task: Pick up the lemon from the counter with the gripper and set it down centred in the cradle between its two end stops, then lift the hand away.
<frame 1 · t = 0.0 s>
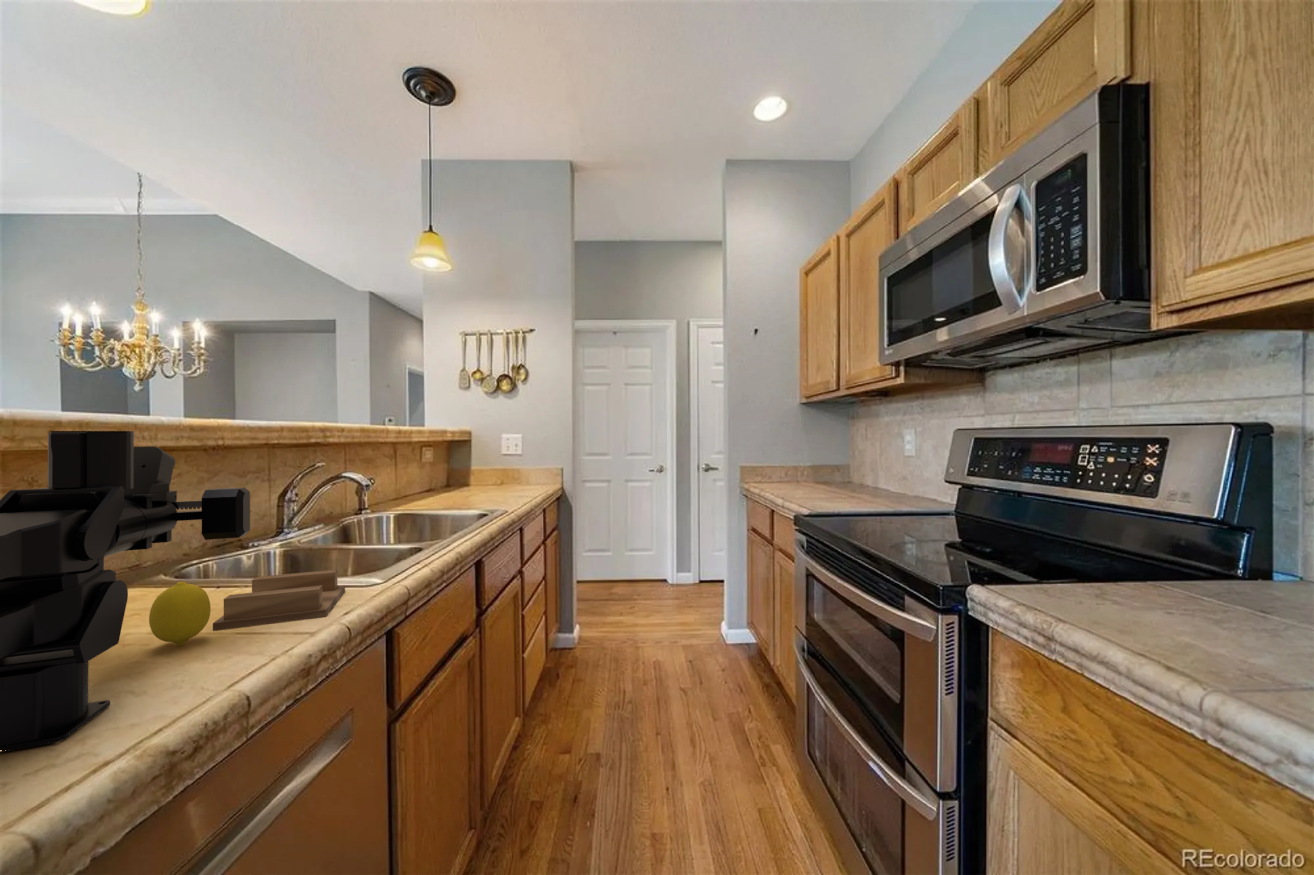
hand: (186, 508, 66), 17 cm above the countertop, tool horizontal, fingers open, 9 cm apart
cradle: (286, 608, 74), on the countertop
lemon: (181, 646, 61), on the countertop
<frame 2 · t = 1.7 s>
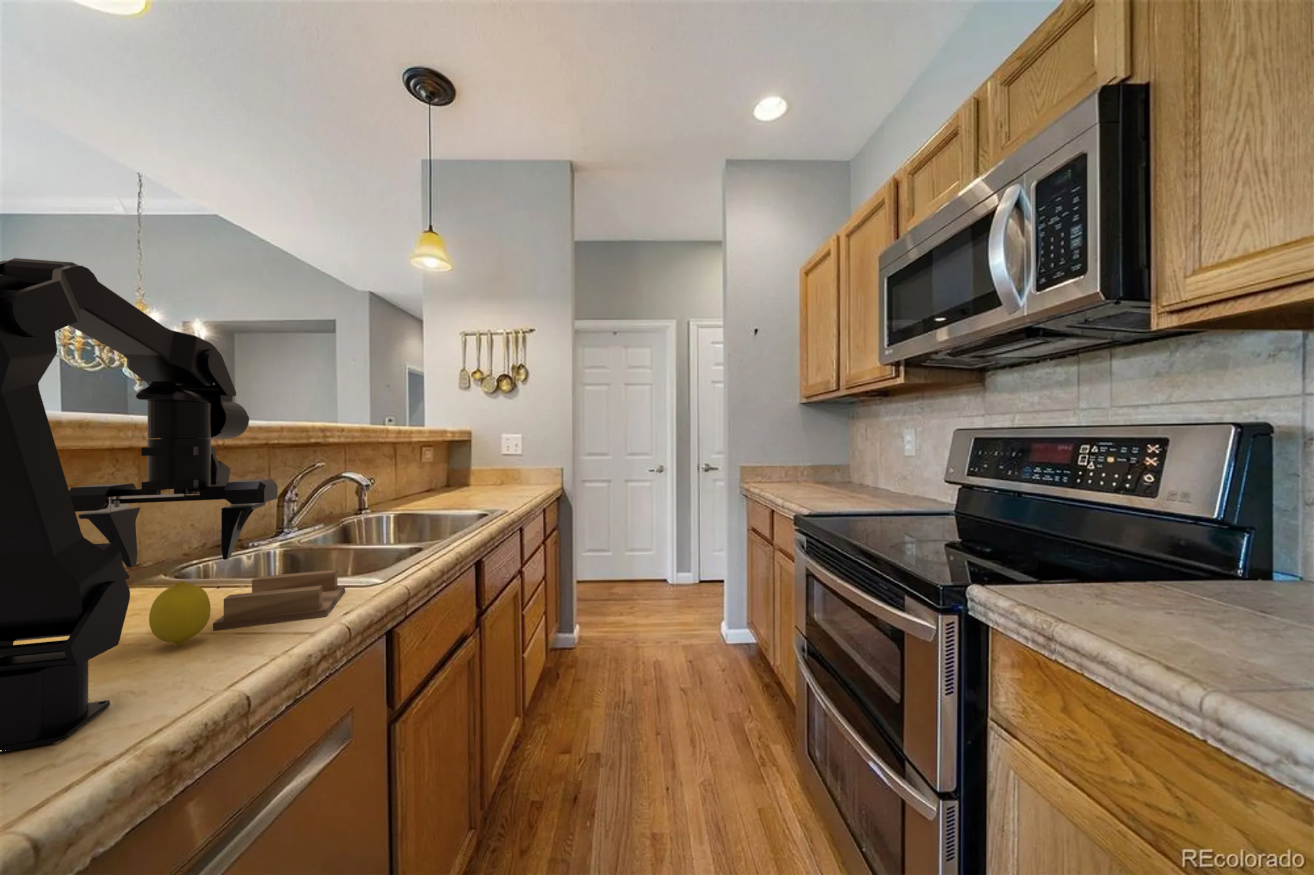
hand: (180, 562, 61), 10 cm above the countertop, tool pointing down, fingers open, 9 cm apart
nothing on the countertop moved.
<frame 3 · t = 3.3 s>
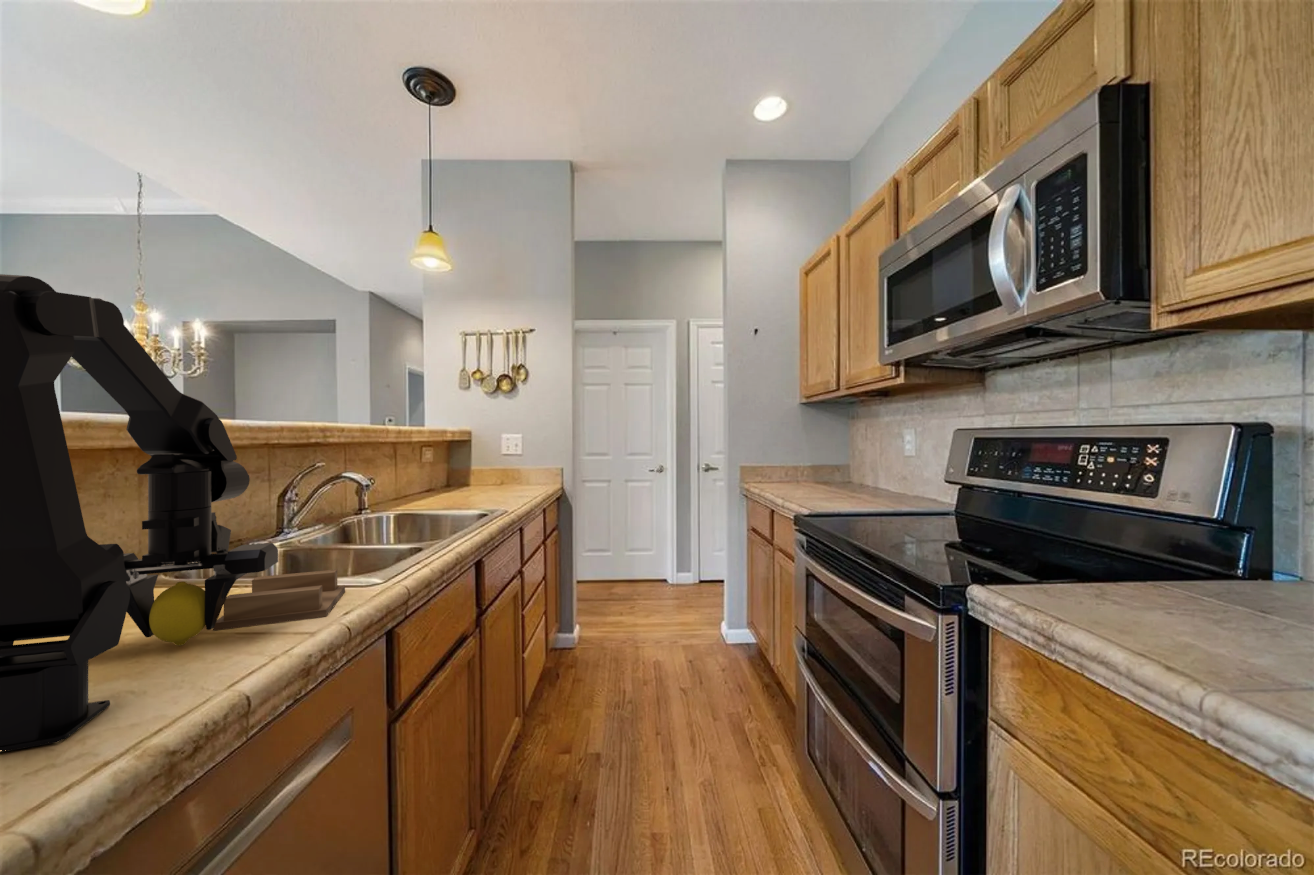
hand: (180, 632, 61), 2 cm above the countertop, tool pointing down, fingers closed on lemon, 5 cm apart
lemon: (180, 646, 61), on the countertop, touching gripper
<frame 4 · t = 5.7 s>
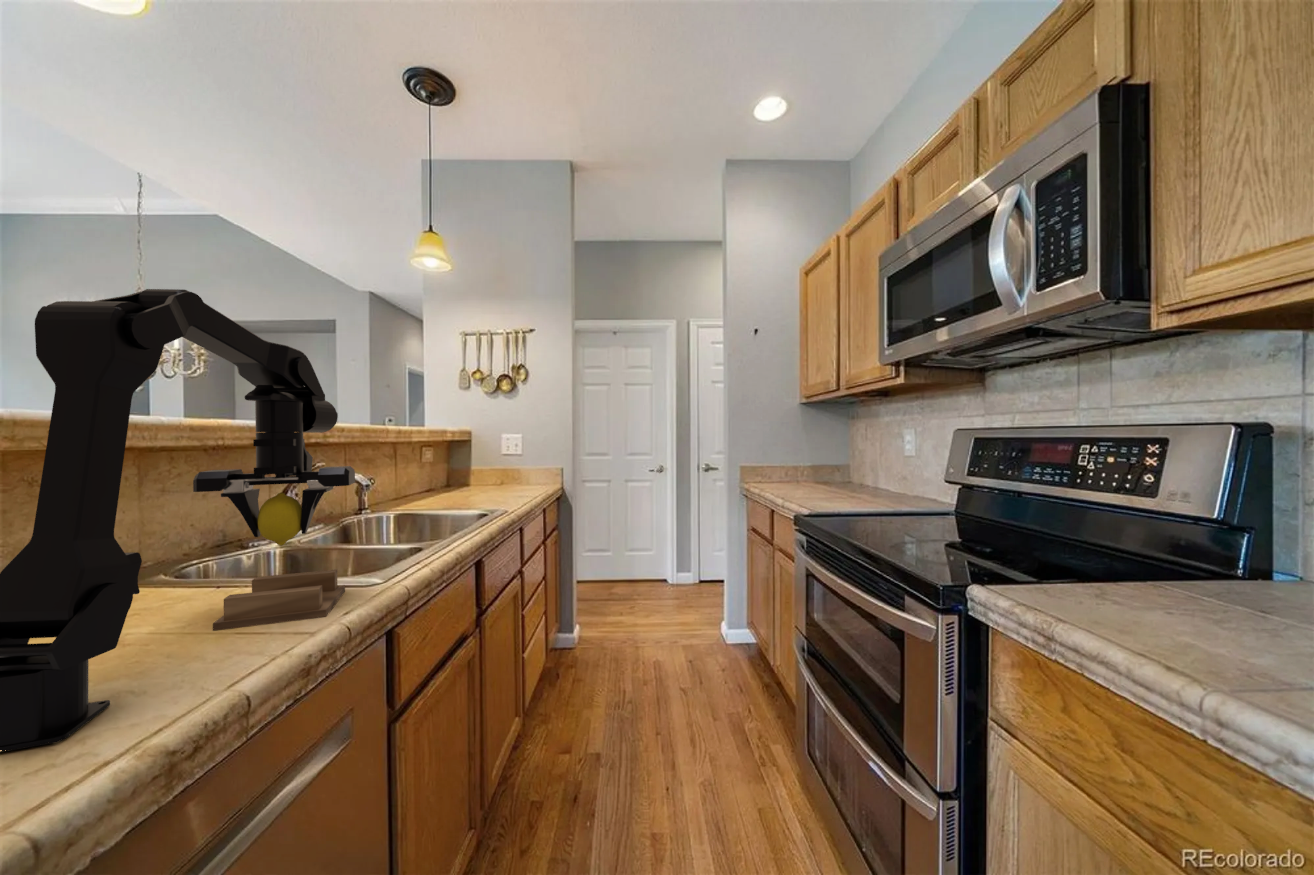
hand: (281, 534, 74), 11 cm above the countertop, tool pointing down, fingers closed on lemon, 5 cm apart
lemon: (281, 546, 74), point 10 cm above the countertop, touching gripper
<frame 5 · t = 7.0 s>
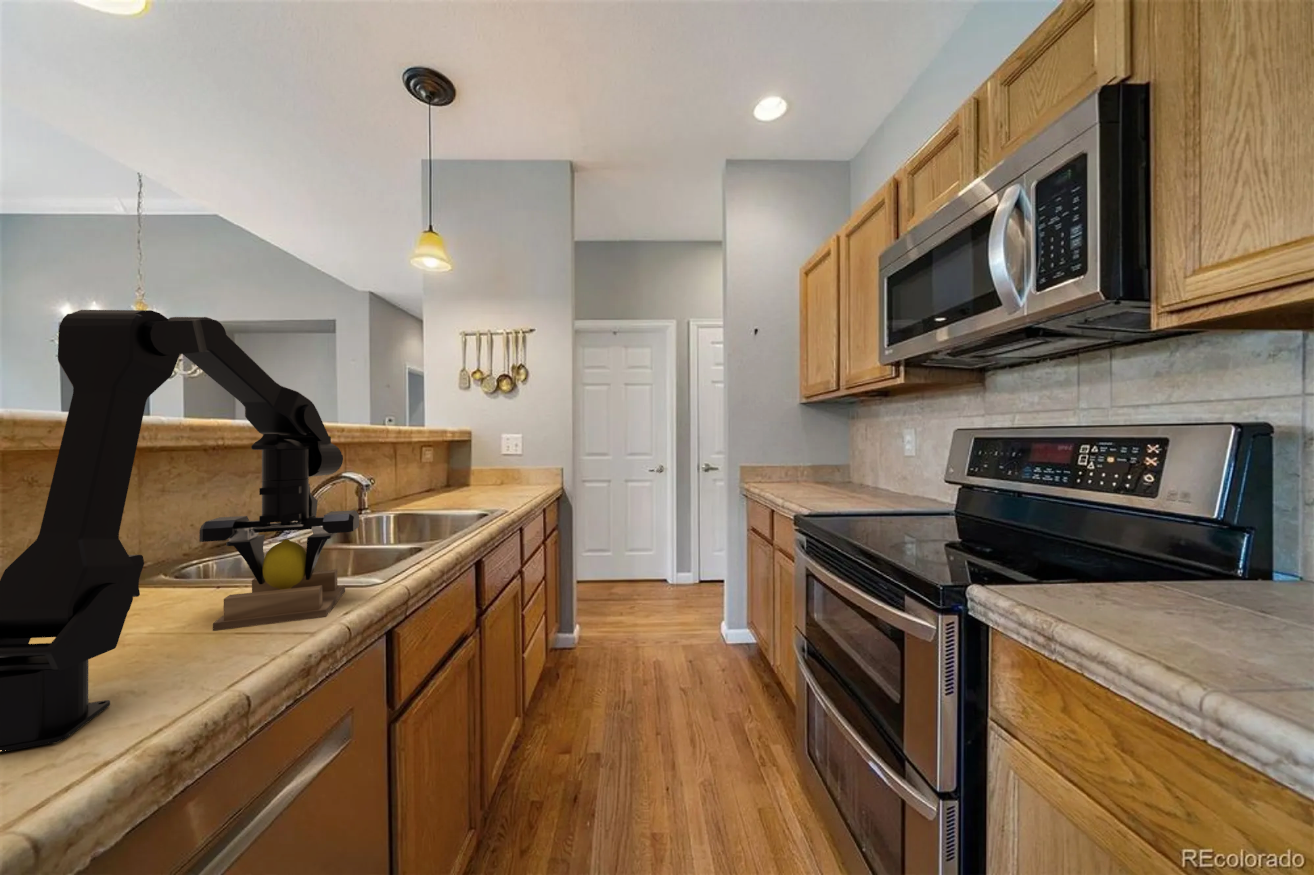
hand: (285, 581, 74), 4 cm above the countertop, tool pointing down, fingers closed on lemon, 5 cm apart
lemon: (285, 593, 74), point 2 cm above the countertop, touching gripper
when the fingers open (3 cm above the countertop, at t = 8.0 s): lemon stays where it is, resting on cradle.
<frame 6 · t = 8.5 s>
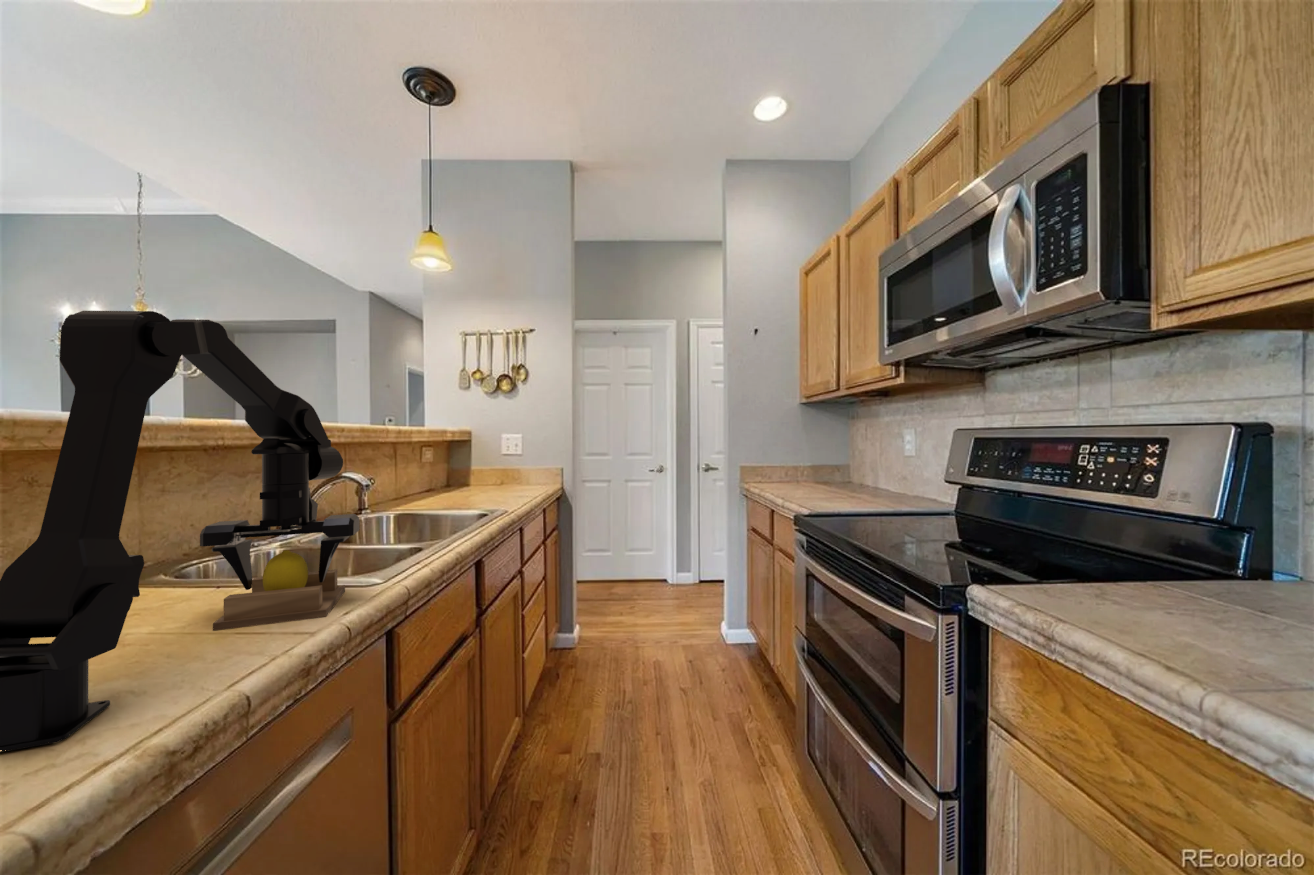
hand: (286, 585, 74), 4 cm above the countertop, tool pointing down, fingers open, 9 cm apart
lemon: (285, 603, 74), point 1 cm above the countertop, touching cradle
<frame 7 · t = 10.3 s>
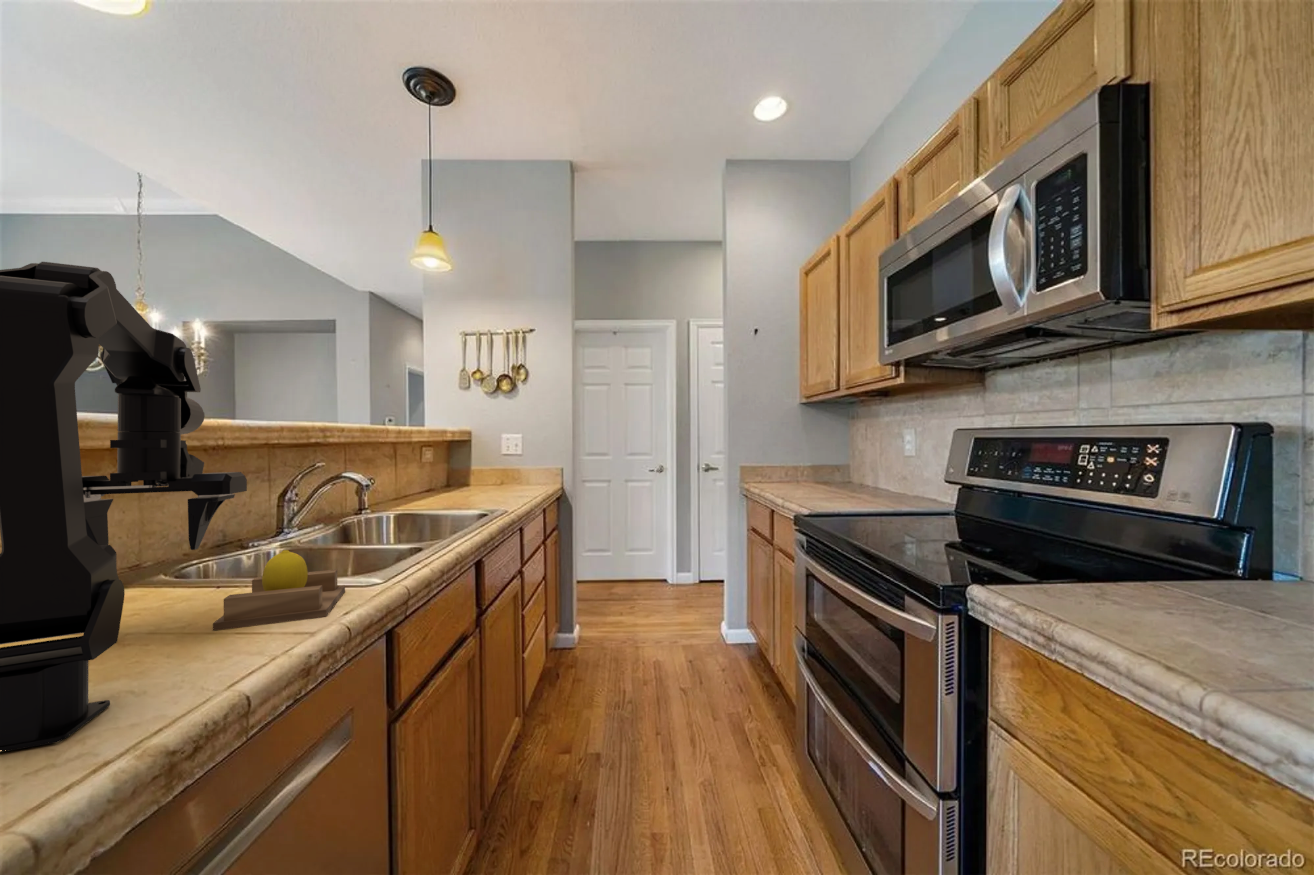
hand: (149, 552, 63), 11 cm above the countertop, tool pointing down, fingers open, 9 cm apart
nothing on the countertop moved.
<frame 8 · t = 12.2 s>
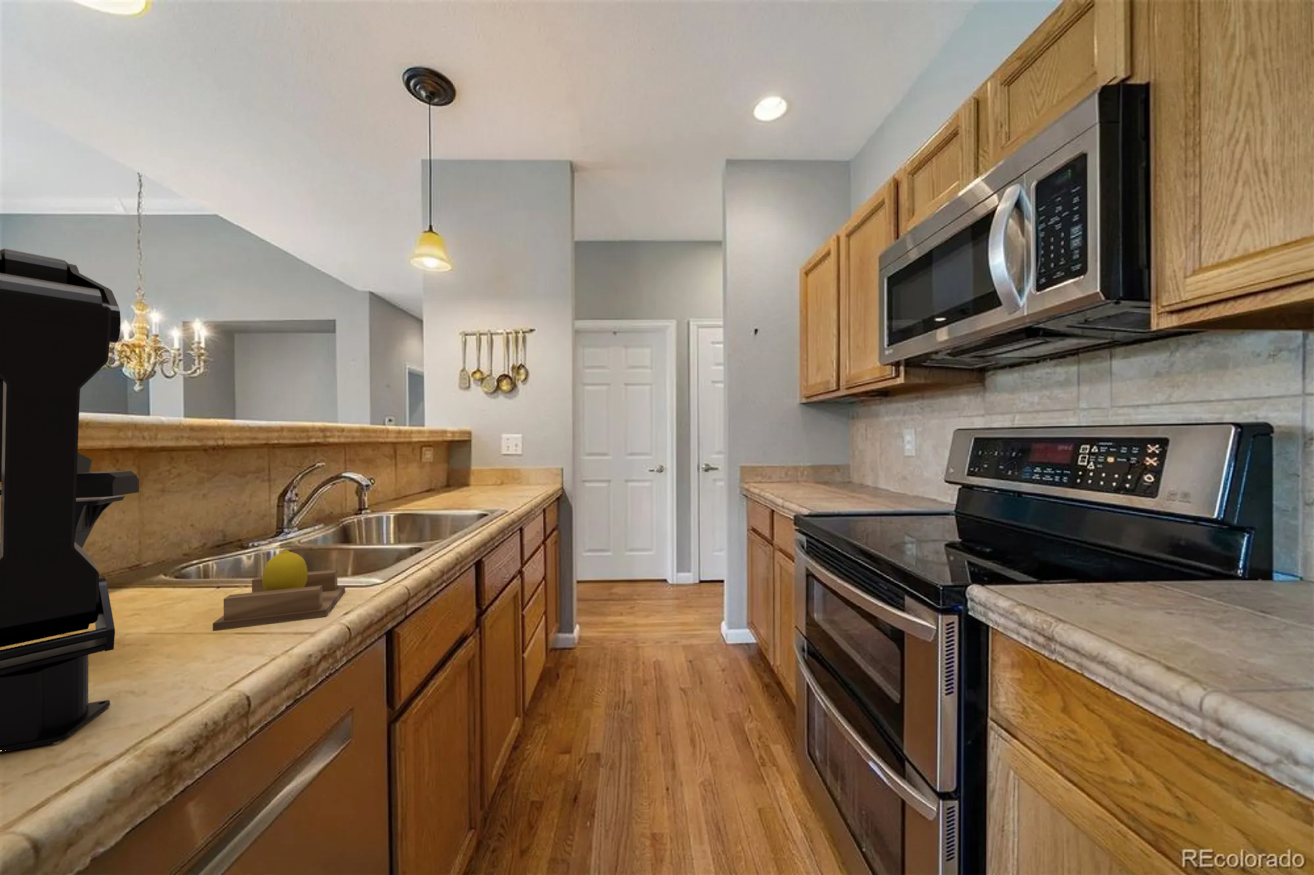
hand: (15, 563, 55), 12 cm above the countertop, tool pointing down, fingers open, 9 cm apart
nothing on the countertop moved.
at the end: lemon 0.1 cm off-centre on the cradle, point 0.8 cm above the cradle's base; the gripper is holding nothing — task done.
